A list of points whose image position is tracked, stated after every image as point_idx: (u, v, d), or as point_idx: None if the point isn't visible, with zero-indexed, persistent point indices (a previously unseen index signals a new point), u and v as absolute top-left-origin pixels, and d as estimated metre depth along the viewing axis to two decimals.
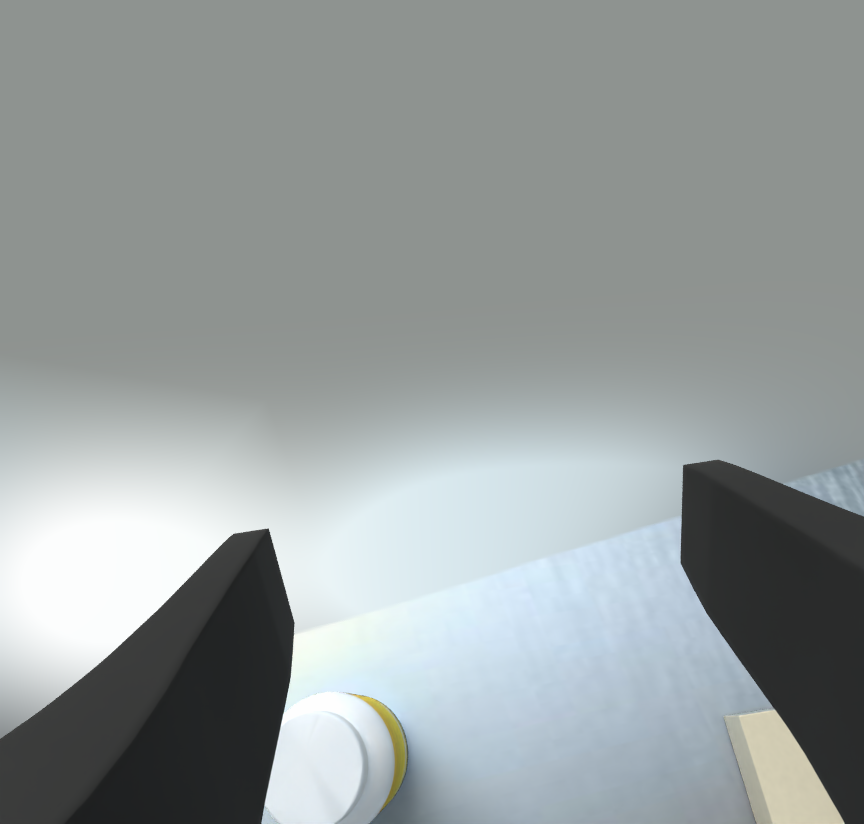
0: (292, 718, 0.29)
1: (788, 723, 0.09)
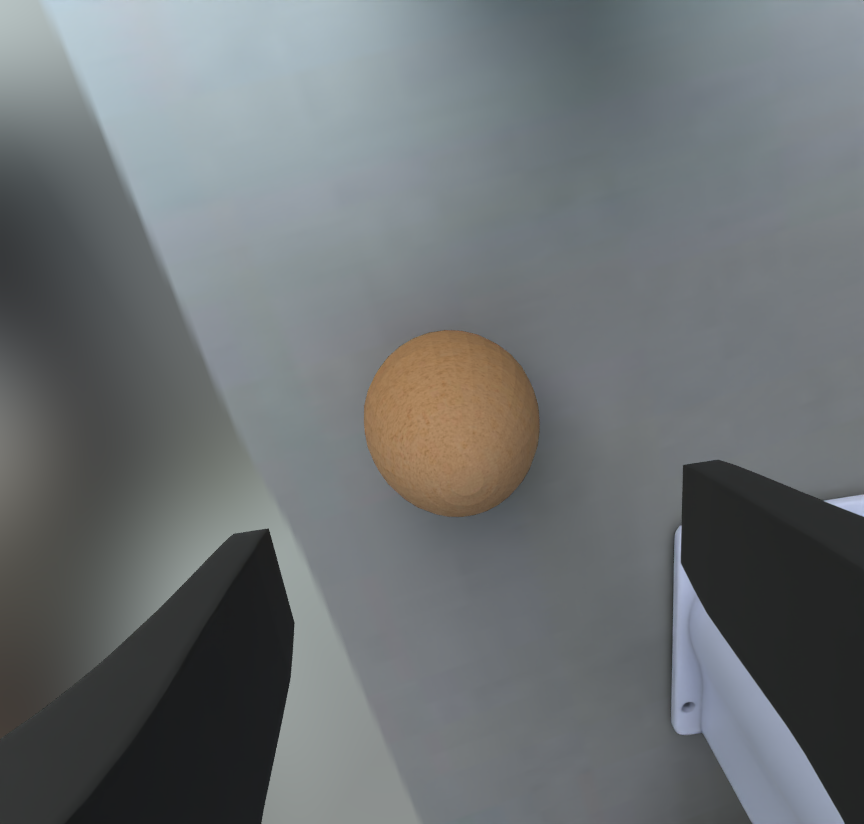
0: None
1: (788, 723, 0.09)
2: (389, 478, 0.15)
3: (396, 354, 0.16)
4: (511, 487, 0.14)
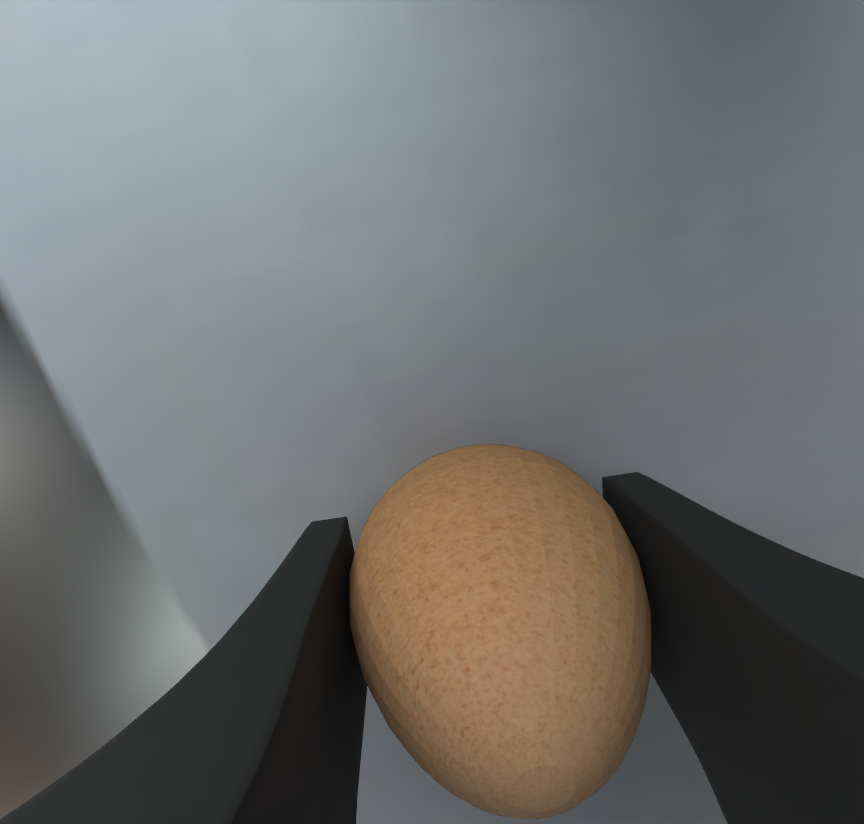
0: None
1: (690, 738, 0.09)
2: (392, 730, 0.08)
3: (403, 496, 0.09)
4: None
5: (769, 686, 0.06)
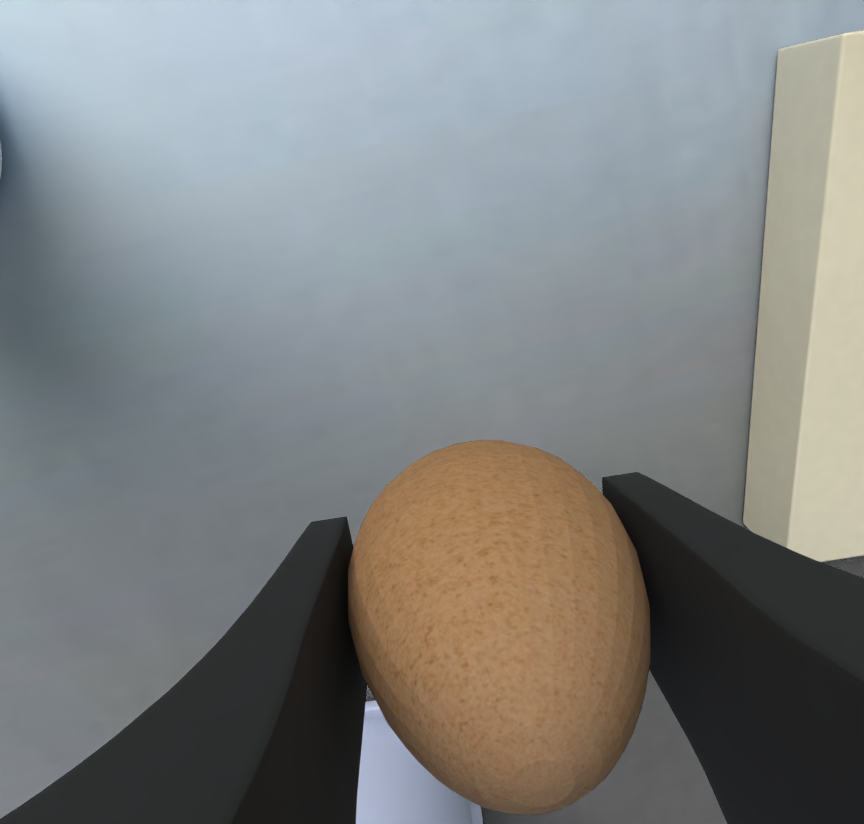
0: None
1: (690, 738, 0.09)
2: (390, 726, 0.08)
3: (402, 491, 0.09)
4: None
5: (769, 686, 0.06)
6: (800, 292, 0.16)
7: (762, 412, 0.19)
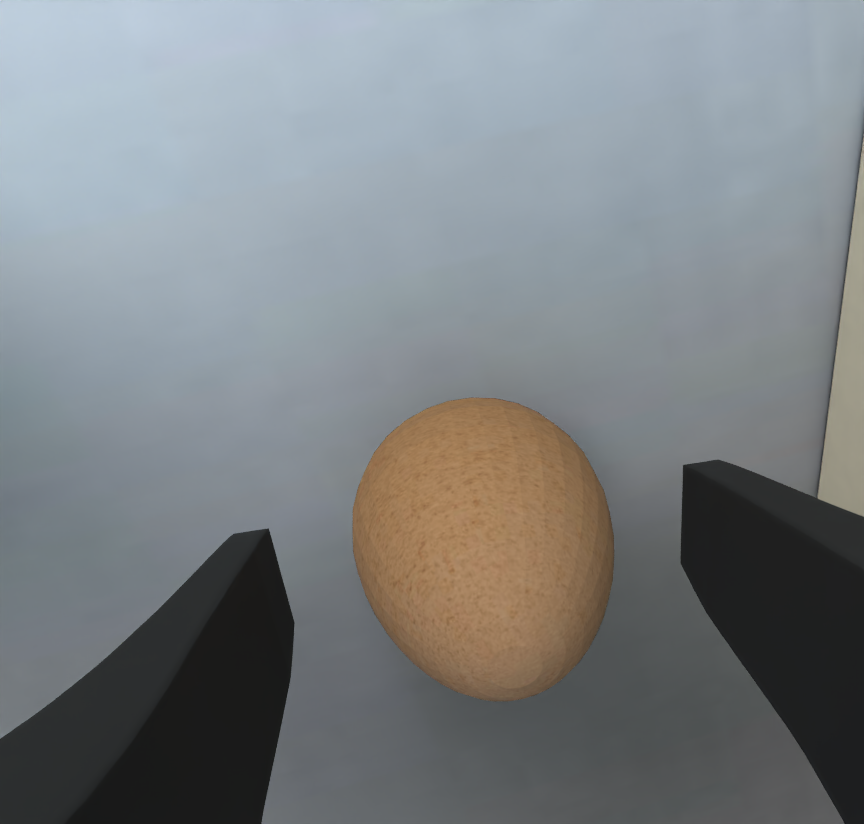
0: None
1: (788, 723, 0.09)
2: (390, 634, 0.10)
3: (400, 438, 0.11)
4: (580, 659, 0.09)
5: None
6: None
7: None
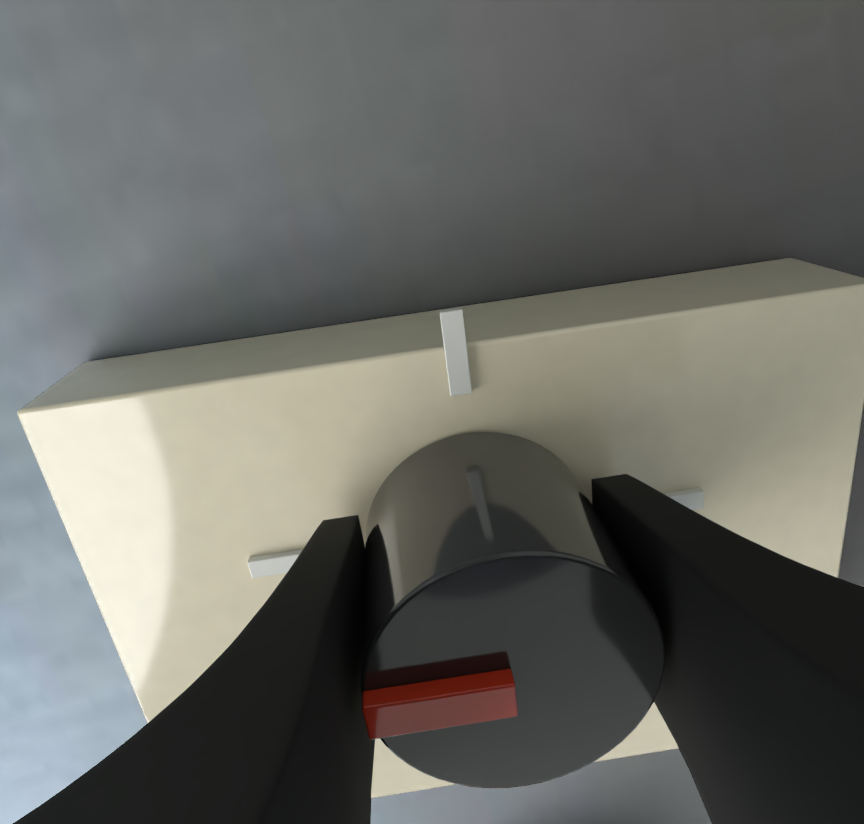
0: None
1: (677, 741, 0.09)
2: None
3: None
4: None
5: (751, 689, 0.06)
6: None
7: None
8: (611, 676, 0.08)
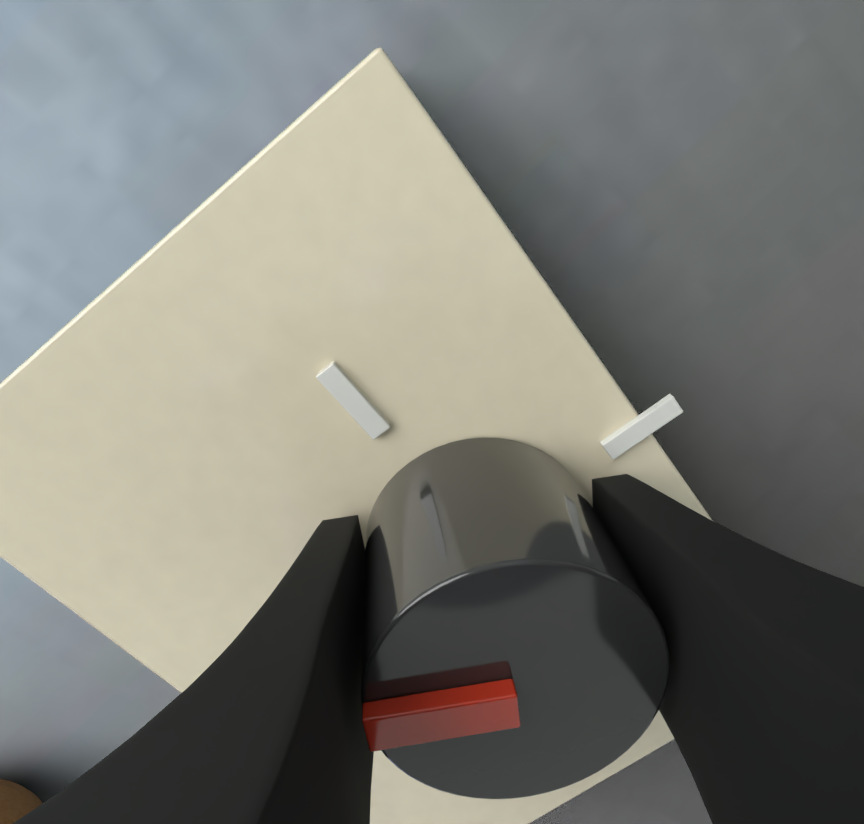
0: None
1: (678, 740, 0.09)
2: None
3: None
4: None
5: (752, 689, 0.06)
6: None
7: None
8: (615, 685, 0.08)
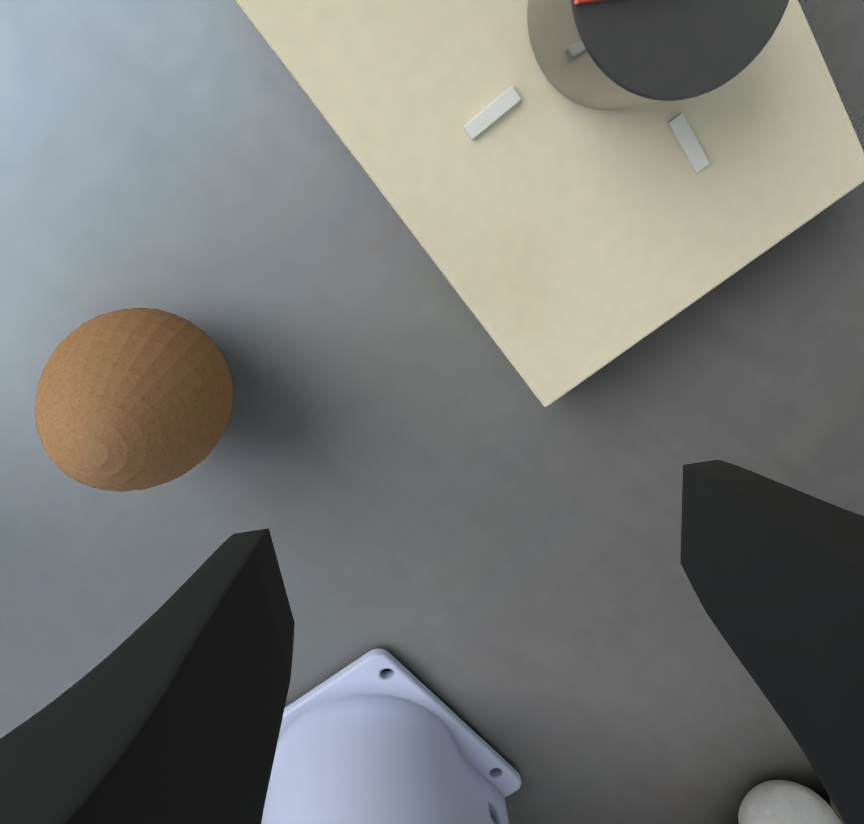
0: None
1: (788, 722, 0.09)
2: None
3: None
4: (158, 435, 0.14)
5: None
6: None
7: None
8: None
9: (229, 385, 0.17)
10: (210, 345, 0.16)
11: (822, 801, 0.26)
